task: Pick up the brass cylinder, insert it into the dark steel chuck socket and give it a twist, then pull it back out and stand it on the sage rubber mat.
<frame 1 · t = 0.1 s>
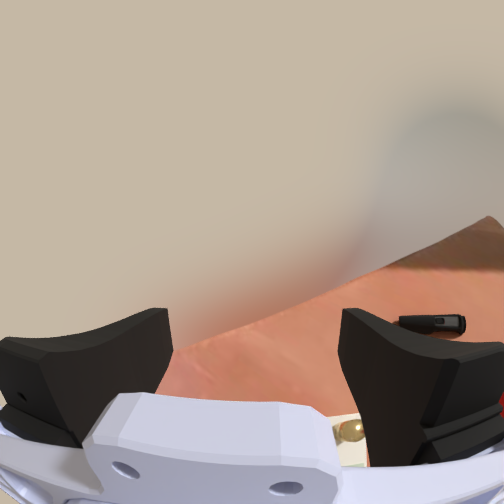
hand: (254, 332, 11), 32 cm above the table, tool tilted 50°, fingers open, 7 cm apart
brass cylinder: (341, 431, 33), point 1 cm above the table, touching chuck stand
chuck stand: (306, 466, 31), on the table
electric trimmer: (431, 327, 42), on the table
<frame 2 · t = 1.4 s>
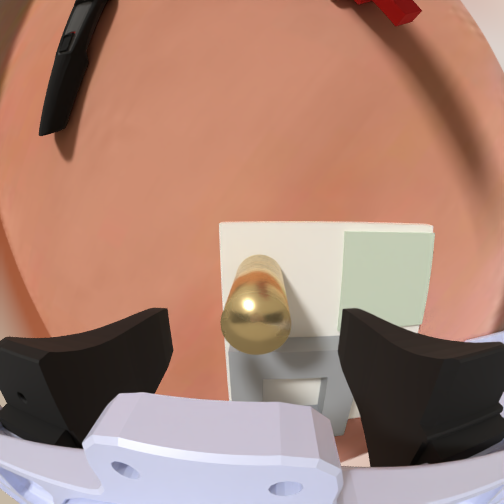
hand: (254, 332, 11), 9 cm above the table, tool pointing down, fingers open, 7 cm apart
brass cylinder: (259, 277, 19), point 1 cm above the table, touching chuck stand
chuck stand: (326, 335, 21), on the table
electric trimmer: (83, 55, 17), on the table
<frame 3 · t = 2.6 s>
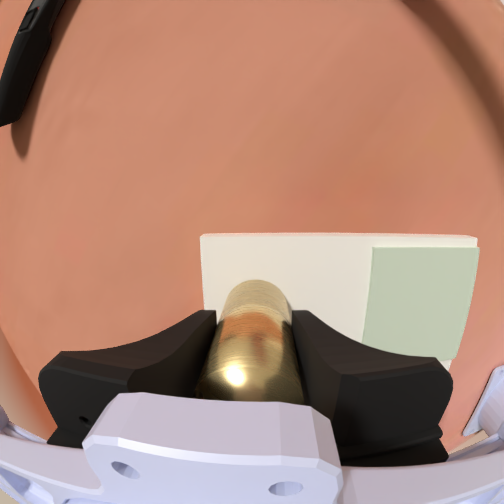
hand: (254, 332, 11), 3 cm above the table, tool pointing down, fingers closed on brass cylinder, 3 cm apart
brass cylinder: (256, 309, 14), point 1 cm above the table, touching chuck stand, gripper
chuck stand: (341, 375, 15), on the table
electric trimmer: (49, 34, 12), on the table
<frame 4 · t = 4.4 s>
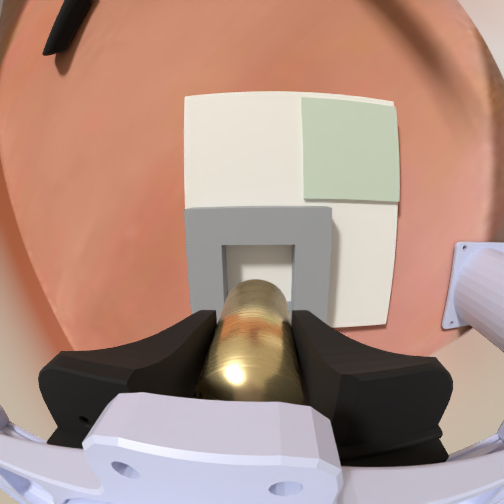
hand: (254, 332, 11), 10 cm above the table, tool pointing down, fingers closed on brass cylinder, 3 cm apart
brass cylinder: (255, 309, 14), point 8 cm above the table, touching gripper
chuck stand: (294, 212, 20), on the table
electric trimmer: (87, 1, 16), on the table
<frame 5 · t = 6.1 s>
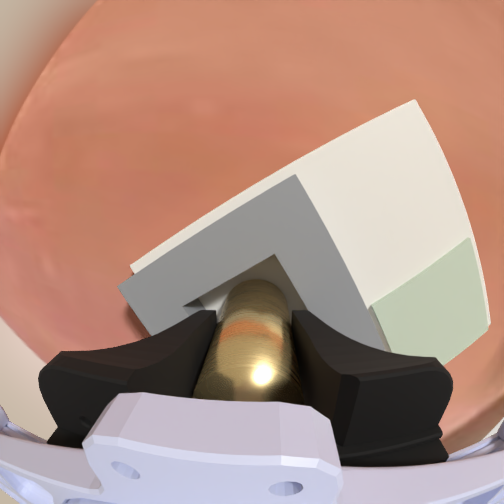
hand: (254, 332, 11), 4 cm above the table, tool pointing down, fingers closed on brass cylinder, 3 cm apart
brass cylinder: (256, 309, 14), point 1 cm above the table, touching gripper
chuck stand: (345, 299, 15), on the table
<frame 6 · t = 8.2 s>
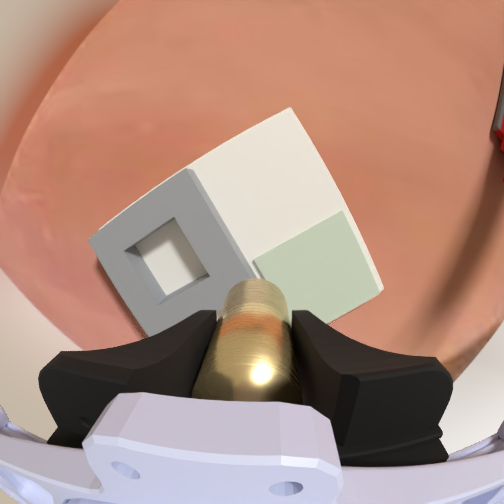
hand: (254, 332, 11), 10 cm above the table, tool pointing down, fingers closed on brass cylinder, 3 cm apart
brass cylinder: (255, 308, 14), point 8 cm above the table, touching gripper
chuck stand: (239, 256, 21), on the table
when the fingers open (5 cm above the table, at t = 9.9 s): brass cylinder stays where it is, resting on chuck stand.
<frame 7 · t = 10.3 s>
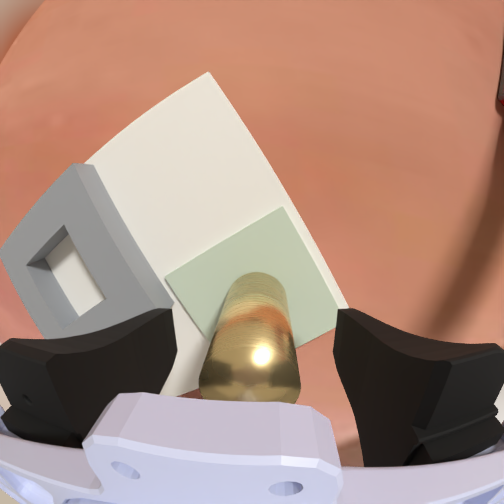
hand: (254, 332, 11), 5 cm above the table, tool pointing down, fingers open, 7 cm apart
brass cylinder: (257, 300, 15), point 1 cm above the table, touching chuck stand
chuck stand: (153, 270, 16), on the table
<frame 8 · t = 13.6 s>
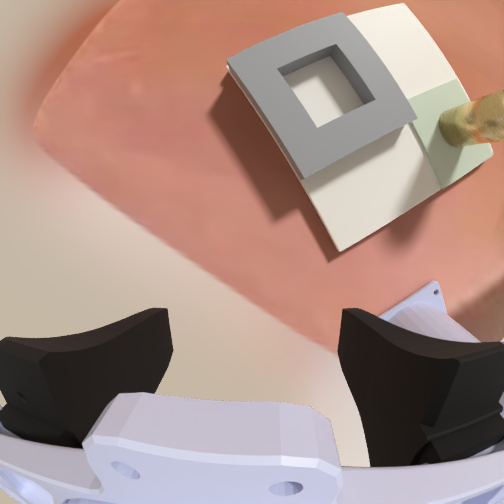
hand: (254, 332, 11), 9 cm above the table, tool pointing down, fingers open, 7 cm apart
brass cylinder: (453, 128, 16), point 1 cm above the table, touching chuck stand
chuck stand: (380, 105, 17), on the table
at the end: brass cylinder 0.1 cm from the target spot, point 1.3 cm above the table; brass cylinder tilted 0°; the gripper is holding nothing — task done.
